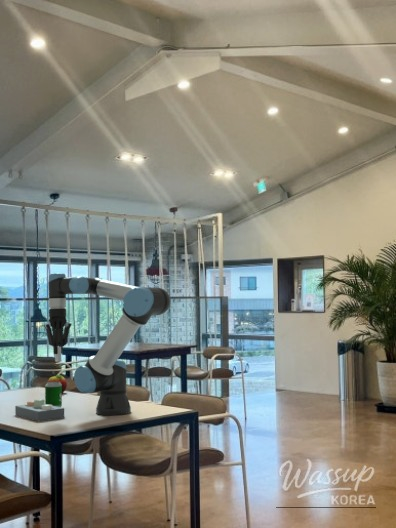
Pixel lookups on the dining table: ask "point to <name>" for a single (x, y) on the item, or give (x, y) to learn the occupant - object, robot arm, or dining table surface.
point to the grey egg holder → (39, 413)
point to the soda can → (53, 394)
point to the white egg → (46, 407)
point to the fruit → (59, 379)
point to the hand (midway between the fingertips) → (58, 361)
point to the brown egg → (30, 403)
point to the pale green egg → (39, 403)
